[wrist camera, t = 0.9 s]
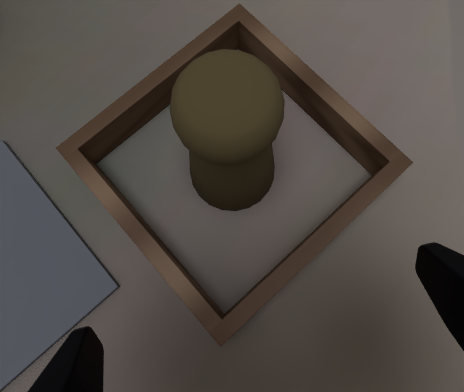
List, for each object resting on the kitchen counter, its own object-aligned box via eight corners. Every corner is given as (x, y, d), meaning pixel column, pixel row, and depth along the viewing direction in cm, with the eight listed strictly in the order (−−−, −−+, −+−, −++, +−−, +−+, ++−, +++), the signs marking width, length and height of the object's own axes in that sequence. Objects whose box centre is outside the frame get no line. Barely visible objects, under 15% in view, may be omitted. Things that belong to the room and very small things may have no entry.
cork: (264, 220, 24) (282, 173, 14) (180, 199, 25) (133, 139, 14) (282, 140, 26) (312, 40, 15) (202, 122, 26) (175, 13, 15)
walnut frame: (392, 176, 25) (413, 162, 22) (223, 337, 23) (220, 346, 20) (239, 32, 28) (239, 3, 25) (77, 162, 26) (55, 148, 23)
